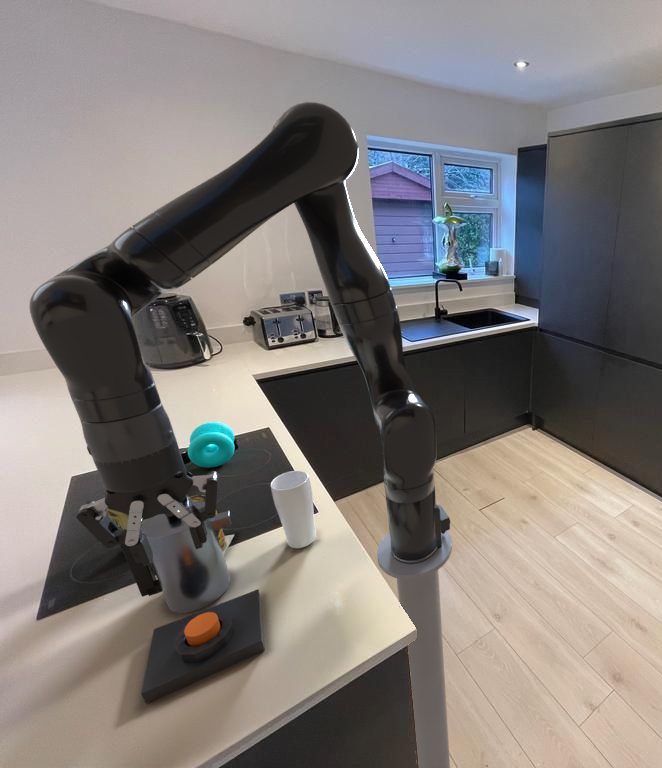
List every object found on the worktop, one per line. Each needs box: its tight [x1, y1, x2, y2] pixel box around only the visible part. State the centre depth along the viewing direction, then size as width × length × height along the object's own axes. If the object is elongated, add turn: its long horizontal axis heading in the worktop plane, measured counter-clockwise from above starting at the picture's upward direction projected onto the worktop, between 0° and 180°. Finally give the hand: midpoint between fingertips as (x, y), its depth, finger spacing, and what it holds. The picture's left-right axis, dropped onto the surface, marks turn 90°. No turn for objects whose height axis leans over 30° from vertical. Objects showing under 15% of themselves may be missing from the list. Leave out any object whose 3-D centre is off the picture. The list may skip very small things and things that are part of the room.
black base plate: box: [140, 589, 266, 705], centre depth 61 cm, size 14×11×4 cm
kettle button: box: [184, 612, 221, 646], centre depth 60 cm, size 4×4×2 cm
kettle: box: [119, 501, 233, 614], centre depth 68 cm, size 14×9×17 cm, turn 123°
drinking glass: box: [269, 470, 317, 549], centre depth 80 cm, size 7×7×15 cm
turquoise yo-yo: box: [187, 421, 235, 468], centre depth 109 cm, size 10×10×10 cm
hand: (174, 552), depth 54 cm, fingers open, 5 cm apart
